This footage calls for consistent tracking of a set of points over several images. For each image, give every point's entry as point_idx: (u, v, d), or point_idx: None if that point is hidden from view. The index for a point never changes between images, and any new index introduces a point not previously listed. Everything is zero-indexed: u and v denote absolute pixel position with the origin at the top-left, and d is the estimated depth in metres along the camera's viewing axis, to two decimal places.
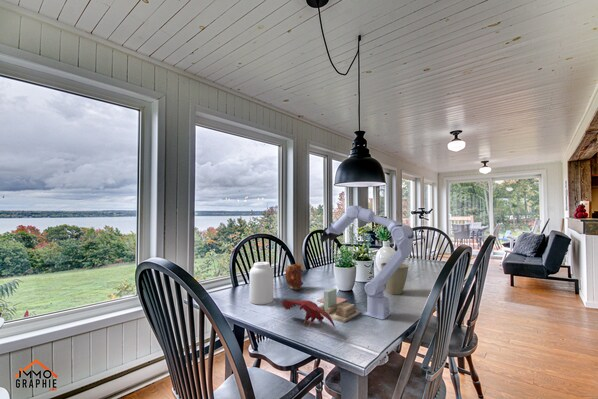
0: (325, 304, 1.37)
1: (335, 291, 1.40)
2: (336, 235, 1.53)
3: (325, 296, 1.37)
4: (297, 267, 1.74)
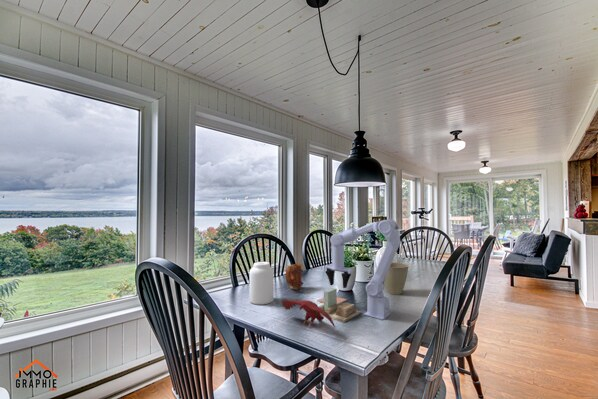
0: (325, 304, 1.37)
1: (335, 291, 1.40)
2: (333, 275, 1.48)
3: (325, 296, 1.37)
4: (297, 267, 1.74)
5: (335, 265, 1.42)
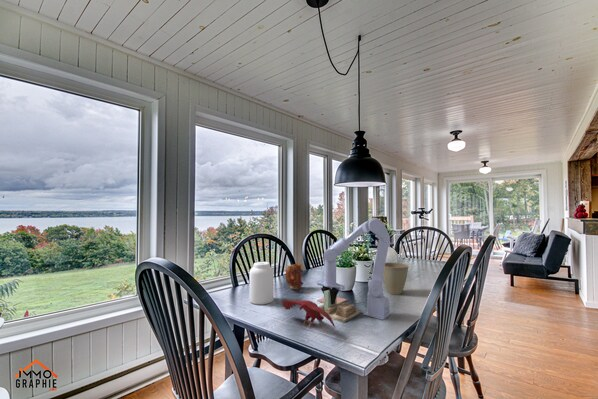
0: (325, 304, 1.37)
1: None
2: None
3: (325, 296, 1.37)
4: (297, 267, 1.74)
5: (327, 281, 1.37)
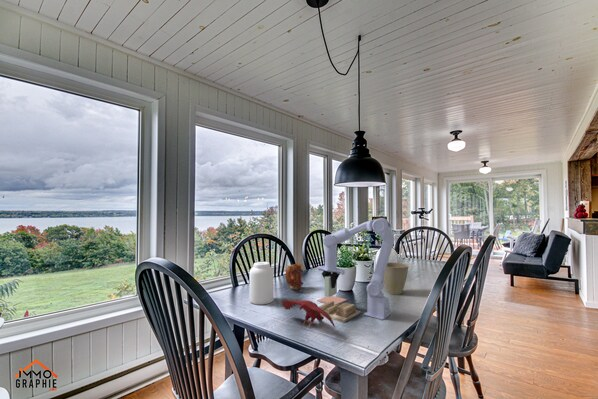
0: (326, 289, 1.41)
1: None
2: None
3: (326, 282, 1.41)
4: (297, 267, 1.74)
5: (327, 266, 1.41)
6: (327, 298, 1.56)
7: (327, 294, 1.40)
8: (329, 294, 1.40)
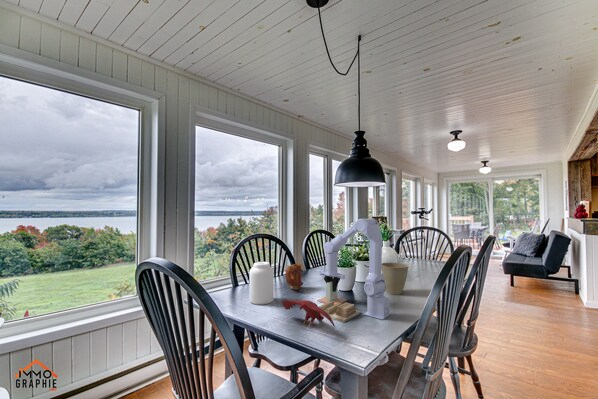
0: (327, 294, 1.52)
1: None
2: None
3: (327, 287, 1.52)
4: (297, 267, 1.74)
5: (329, 271, 1.52)
6: None
7: (328, 299, 1.51)
8: (330, 299, 1.51)
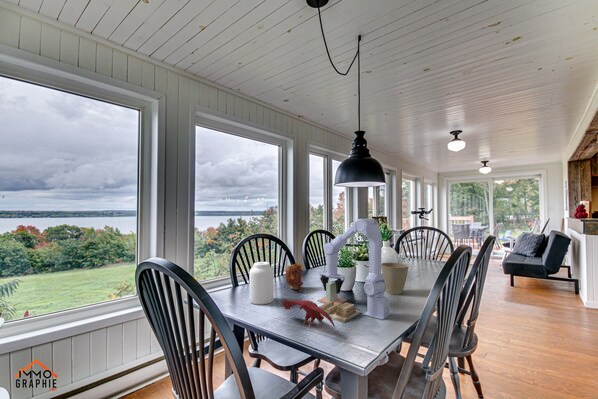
0: (327, 295, 1.52)
1: None
2: (327, 281, 1.57)
3: (327, 288, 1.52)
4: (297, 267, 1.74)
5: (329, 272, 1.52)
6: None
7: (328, 299, 1.51)
8: (330, 299, 1.51)
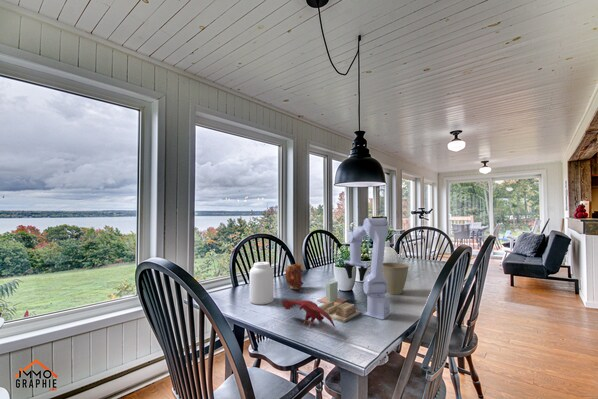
0: (327, 295, 1.52)
1: (336, 283, 1.55)
2: (351, 269, 1.61)
3: (327, 288, 1.52)
4: (297, 267, 1.74)
5: (352, 260, 1.55)
6: None
7: (328, 299, 1.51)
8: (330, 299, 1.51)
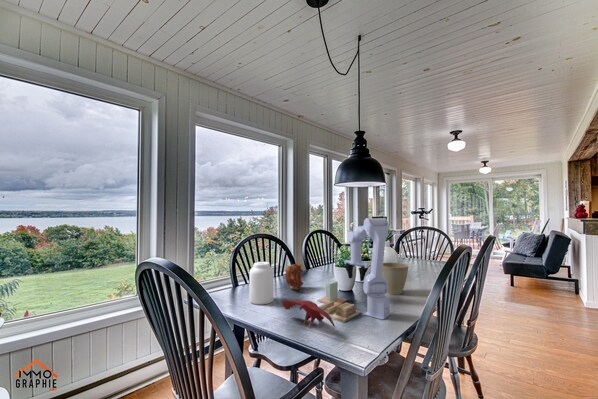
0: (327, 295, 1.52)
1: (336, 283, 1.55)
2: (351, 269, 1.61)
3: (327, 288, 1.52)
4: (297, 267, 1.74)
5: (353, 260, 1.55)
6: None
7: (328, 299, 1.51)
8: (330, 299, 1.51)
